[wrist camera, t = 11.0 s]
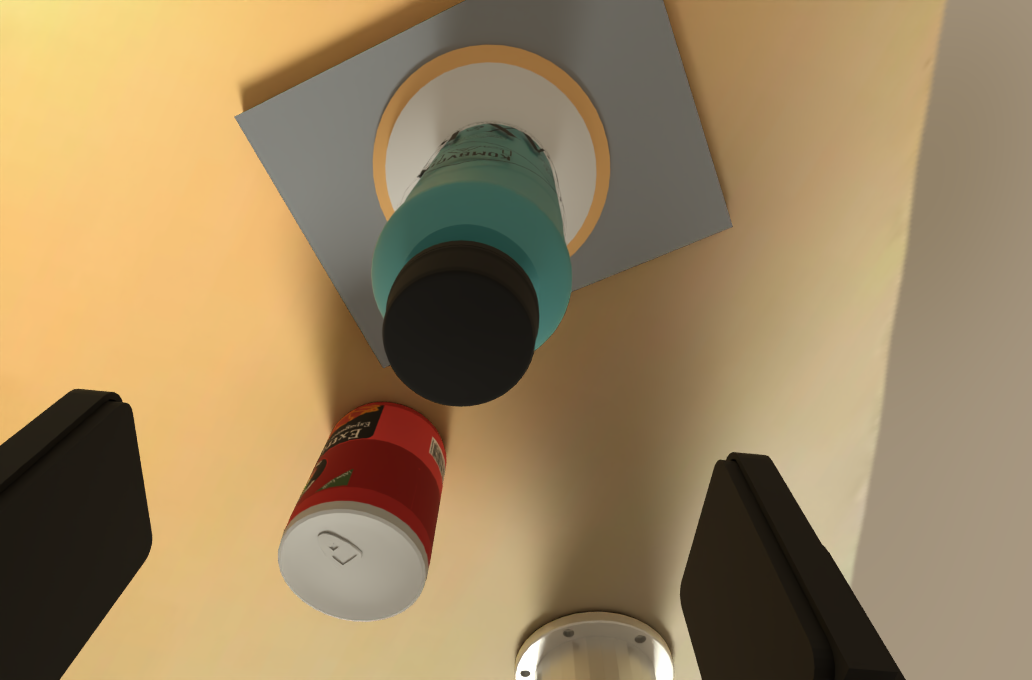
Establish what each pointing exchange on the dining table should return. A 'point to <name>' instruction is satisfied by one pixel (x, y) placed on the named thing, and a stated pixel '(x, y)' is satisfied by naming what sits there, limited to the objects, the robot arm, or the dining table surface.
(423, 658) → the dining table surface
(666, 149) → the board
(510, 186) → the beverage bottle
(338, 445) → the canned food
